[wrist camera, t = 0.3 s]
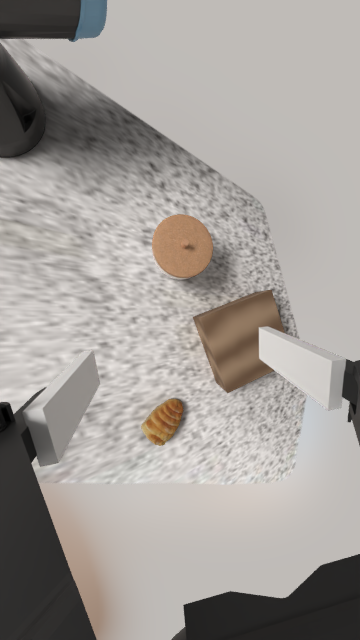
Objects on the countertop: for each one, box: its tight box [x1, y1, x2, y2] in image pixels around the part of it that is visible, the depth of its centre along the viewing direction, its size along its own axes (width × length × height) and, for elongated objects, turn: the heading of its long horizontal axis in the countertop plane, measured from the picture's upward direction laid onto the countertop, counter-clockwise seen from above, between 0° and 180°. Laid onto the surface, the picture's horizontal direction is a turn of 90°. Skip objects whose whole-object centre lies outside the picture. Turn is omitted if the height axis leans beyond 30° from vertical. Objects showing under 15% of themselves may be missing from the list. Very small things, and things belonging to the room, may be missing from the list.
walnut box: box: [193, 290, 285, 393], centre depth 41 cm, size 16×16×6 cm
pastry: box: [141, 399, 183, 446], centre depth 40 cm, size 9×7×4 cm
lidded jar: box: [152, 214, 213, 280], centre depth 36 cm, size 11×11×9 cm
